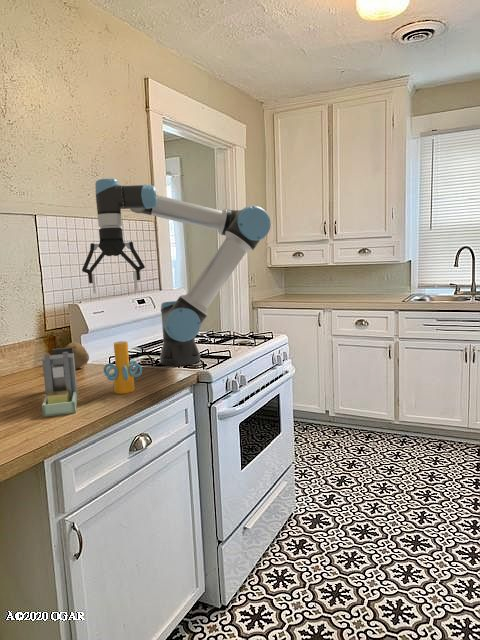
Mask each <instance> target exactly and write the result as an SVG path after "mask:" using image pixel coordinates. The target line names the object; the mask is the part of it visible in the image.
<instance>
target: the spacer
mask: <svg viewBox="0 0 480 640" xmlns="http://www.w3.org/2000/svg"><path fill="white" fill-rule="evenodd" d="M47 400H48V404H55V403H63V402H70V400H69V390H66V391H57V392H49V394H48V395H47Z"/></svg>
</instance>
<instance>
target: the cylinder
mask: <svg viewBox="0 0 480 640" xmlns="http://www.w3.org/2000/svg"><path fill="white" fill-rule="evenodd" d="M113 350H114V362H115V364H114V363H107V364H105V365H104V367H103V373H104V375H105V376H106V378H107V380H108V381H113V390H114V393H115V394H118V395H125V394H129V393H133V392H135V390H136V389H135V378H138V377H140V376H142V374H143V368H142V366H141V365H140V364H139V363H138V362H137V361H136V360H130V357H129V344H128V341H126V340H123V341H122V340H120V341H116V342H115V341H114V342H113ZM133 367H134V370H133V371H132V368H133ZM112 369H114V372H113V374H111V373H110V371H112ZM138 369H139V373H137V372H138ZM136 373H137V374H136Z"/></svg>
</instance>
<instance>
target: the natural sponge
mask: <svg viewBox="0 0 480 640" xmlns="http://www.w3.org/2000/svg"><path fill="white" fill-rule="evenodd" d="M71 347H72V348H73V353H74V362H75V370H79V369H81V368H82V366H84V365H85V364H87V363H88V362H89V361H90V356H89V353H88V351H87V350H86V348H85V347H84V346H83V345H82V344H81V343H79V342H76V341H72V342H70V343H68V344H67V345H66V346H65V347H64V348H71Z"/></svg>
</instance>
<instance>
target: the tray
mask: <svg viewBox="0 0 480 640" xmlns="http://www.w3.org/2000/svg"><path fill="white" fill-rule="evenodd" d="M77 405H78V399H77V396H76V392H73V398H72V402H63V403H55V404H48V400H47V395H46V394H45V397H44V400H43V402H42V404H41V410H42V417H43V418H45V417H46V418H47V417H54V416H63V415H70V414H76V412H77Z"/></svg>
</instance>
